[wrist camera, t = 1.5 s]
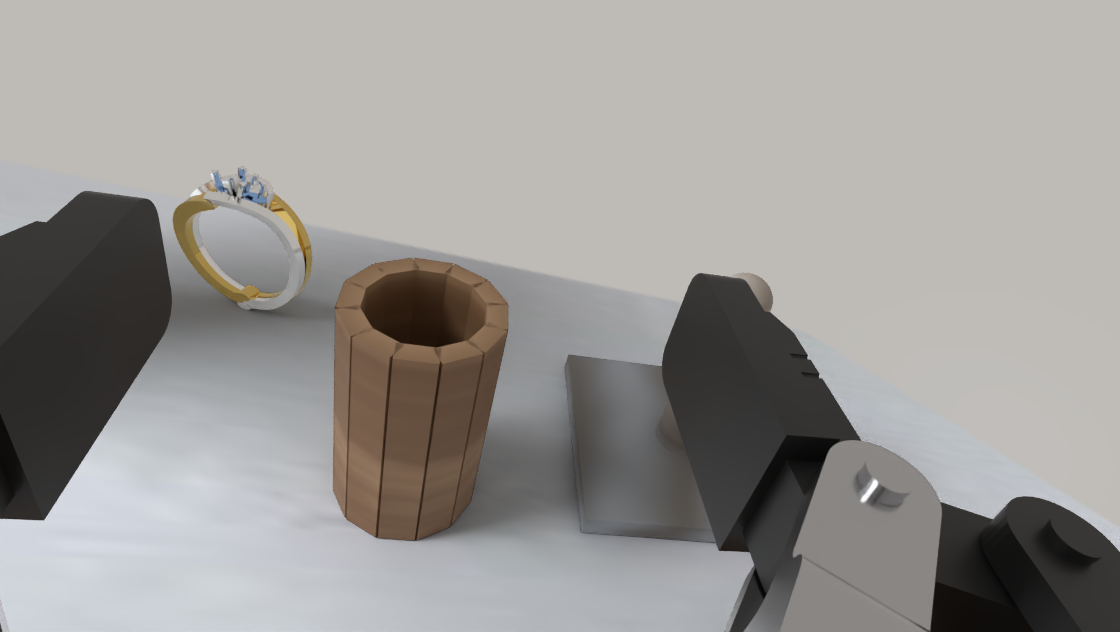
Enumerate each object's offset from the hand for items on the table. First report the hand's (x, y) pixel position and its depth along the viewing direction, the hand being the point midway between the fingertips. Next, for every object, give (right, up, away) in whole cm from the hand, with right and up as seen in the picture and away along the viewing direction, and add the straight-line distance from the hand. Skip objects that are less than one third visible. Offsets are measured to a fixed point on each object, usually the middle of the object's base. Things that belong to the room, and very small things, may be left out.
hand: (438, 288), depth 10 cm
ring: (-16, 0, +26) cm, 30 cm away
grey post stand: (+8, -8, +24) cm, 27 cm away
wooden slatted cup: (-5, -8, +19) cm, 21 cm away
